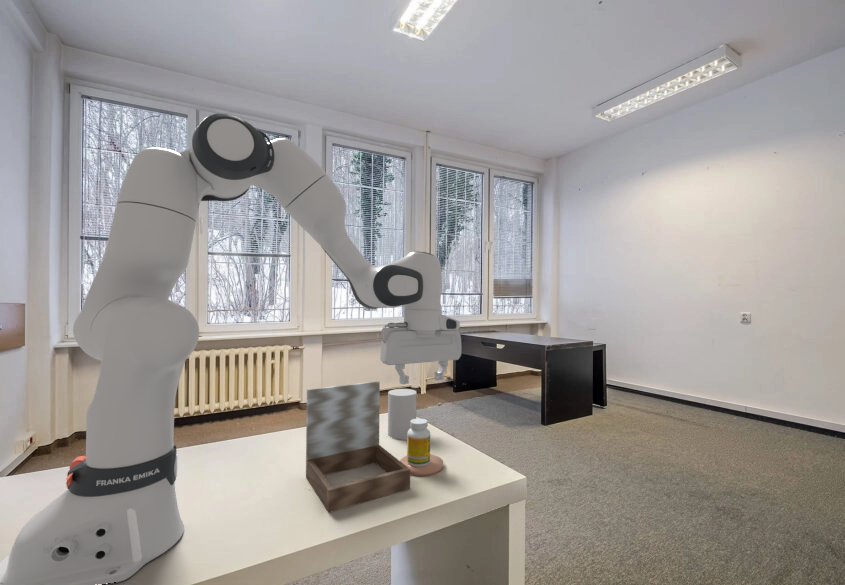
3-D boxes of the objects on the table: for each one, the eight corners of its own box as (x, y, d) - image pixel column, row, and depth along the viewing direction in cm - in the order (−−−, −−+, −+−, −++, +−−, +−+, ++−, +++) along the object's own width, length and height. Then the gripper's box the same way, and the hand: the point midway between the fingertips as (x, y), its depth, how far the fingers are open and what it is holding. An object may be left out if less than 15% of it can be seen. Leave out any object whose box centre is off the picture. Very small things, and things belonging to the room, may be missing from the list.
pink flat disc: (413, 480, 82) (413, 475, 82) (392, 462, 91) (392, 458, 91) (451, 469, 87) (451, 465, 87) (428, 454, 96) (428, 450, 96)
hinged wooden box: (328, 512, 70) (329, 407, 70) (305, 477, 83) (306, 389, 84) (410, 489, 78) (410, 395, 79) (377, 460, 92) (378, 381, 92)
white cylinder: (421, 435, 109) (422, 393, 109) (397, 441, 104) (397, 397, 105) (406, 427, 116) (406, 387, 116) (382, 432, 111) (383, 391, 111)
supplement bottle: (405, 458, 91) (405, 418, 91) (427, 456, 92) (427, 416, 92) (409, 468, 85) (409, 425, 86) (432, 466, 87) (432, 423, 87)
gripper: (388, 323, 81) (387, 389, 81) (465, 322, 92) (465, 380, 92) (376, 322, 87) (375, 383, 87) (450, 320, 97) (449, 375, 97)
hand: (422, 381), depth 89 cm, fingers open, 8 cm apart
